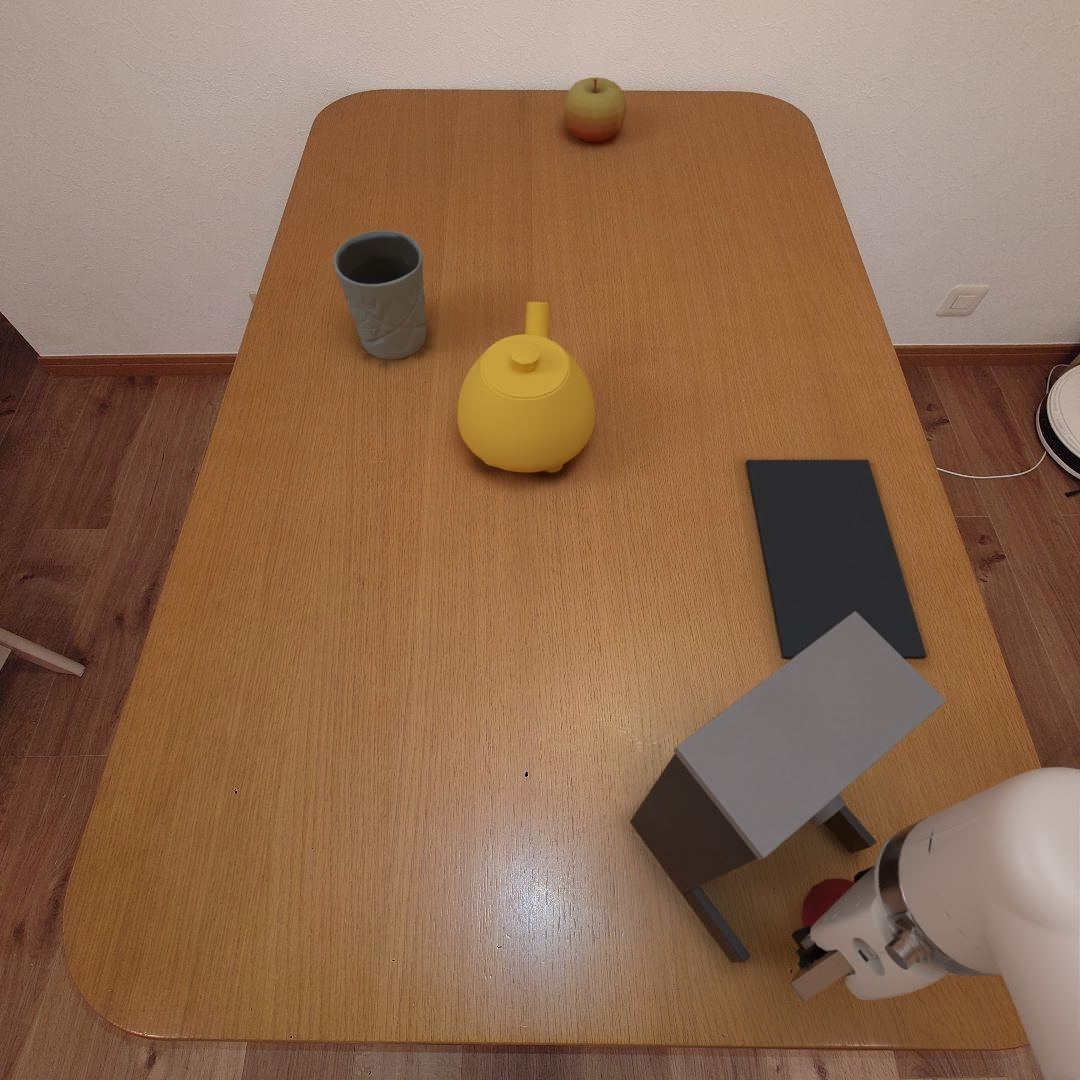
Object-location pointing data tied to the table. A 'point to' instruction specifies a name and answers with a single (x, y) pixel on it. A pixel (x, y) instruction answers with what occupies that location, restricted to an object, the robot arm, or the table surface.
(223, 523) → the table surface
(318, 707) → the table surface
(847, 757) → the grey legged box
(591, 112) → the apple
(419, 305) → the grey cup
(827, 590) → the mat
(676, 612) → the table surface
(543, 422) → the teapot
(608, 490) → the table surface
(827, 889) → the pomegranate
